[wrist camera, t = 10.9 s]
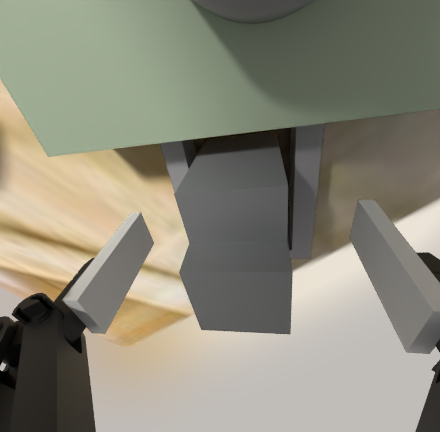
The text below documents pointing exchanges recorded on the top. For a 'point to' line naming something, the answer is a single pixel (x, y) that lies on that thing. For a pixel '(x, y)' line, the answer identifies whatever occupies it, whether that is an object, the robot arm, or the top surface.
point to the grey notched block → (237, 235)
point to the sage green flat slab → (217, 75)
